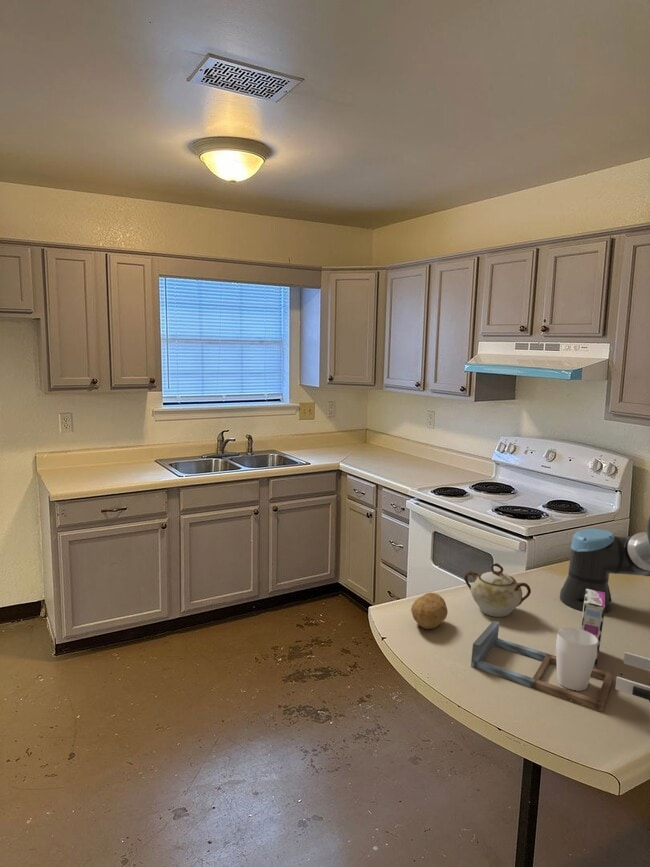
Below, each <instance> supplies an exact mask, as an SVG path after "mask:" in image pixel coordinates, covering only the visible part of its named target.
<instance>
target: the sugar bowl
mask: <svg viewBox="0 0 650 867" xmlns="http://www.w3.org/2000/svg"><path fill="white" fill-rule="evenodd" d="M494 567H497V568H498V569H499V570H495V569H494ZM490 569H491V570H490V571H488V572H483V573H480V574H479V573H477V572H474V571H467V572H466V573H465V575H464V582H465V585H467V586H468V588H469V590H470V593H471V596H472V598H473V600H474V602H475V603H476V605H477V607H478V608H479V610H480V611H481V613H483V614H484V615H487V616H489V617H490V616H491V617H496V618H504V617H508V616H509V615H510V614H511V613H512V612H513V611H514V610H515V609H516V608H517V607H519V606H520V605H522V603H523V602H524V601H525V600H527V599H528V598H529V597H530V595H531V593H532V590H531V586H530V585H529V584H528V583H526V582H518V581H517V580H516V579H515V578H514V577H513V576H511V575H509V574H506V573H504V568H503V566H501V564H500V563H497V562H495V563H493V564H491V566H490ZM469 576H472V577H473V579H472V580H473V581H472V583H471V584H470V582H469V580H468V577H469ZM522 587H524V588H526V589H527V590H526V591H527V592H526V594H525V595H524V596H523V590H522V589H523V588H522Z"/></svg>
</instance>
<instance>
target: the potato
mask: <svg viewBox="0 0 650 867" xmlns="http://www.w3.org/2000/svg"><path fill="white" fill-rule="evenodd" d="M410 611H411V614H412V618H413V620H414V621H415V622H416V624H417V625H418V626H419V627H421V628H423V629H425V630H429V629H430V630H431V629H435V628H437V627H438V626H439V625H440V624H442V623H443V622H444V621H445V619H447V615H448V612H449V611H448V607H447V604H446V601H445V599H444V598H443V597H442V596H441V595H440V594H438V593H436V592H426V593H425V594H423V595H421V596H420V597H418V598H417V599H415V600H414V602H413V604H411V608H410Z"/></svg>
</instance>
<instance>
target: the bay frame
mask: <svg viewBox="0 0 650 867" xmlns="http://www.w3.org/2000/svg"><path fill="white" fill-rule="evenodd" d="M499 630H500V621H496V620H492V621H491V623H490V624H489V625H488V626H487V627H486V628H485V630H484V631H483V632H482V633H481V634H480V635H479V636H478V637H477V639H475V641H474V642H473V643H472V650H471V651H472V652H471V660H470V667H471V668H475V669H477V670H480V671H483V672H486V673H489V674H491V675H494V676H497V677H500V678H504V679H507V680H510V681H512V682H514V683H518V684H521V685H523V686H526V687H529V688H532V689H534V690H538V691H541V692H544V693H547V694H550V695H552V694H553V695H552V696H555V695H556V696H555V697H558V696H559V698H561V697H562V699H564V698H566V699H565V700H567V699H568V700H567V701H570V700H572V701H574V702H573V703H575V702H577V703H576V704H578V703H579V704H578V705H581V704H583V705H582V706H584V705H585V707H587V706H588V707H587V708H590V707H591V708H590V709H593V708H594V710H596V709H597V710H596V711H598V710H600V711H599V712H601V711H602V713H603V712H604V710H605V707H604V706H606V704H607V701H606V700H608V698H609V694H610V691H611V688H612V686H613V683H614V680H615V679H614V678H615V674H614V673H612V672H608V671H605V670H601V669H599V668H593V669H592V672H591V676H590V677H592V678H596V679H599V680H602V681H603V682H602V685H601V687H600V690H599V692H598V695H597V698H593V697H590V696H587V695H585V694H581V693H578V692H577V691H574V690H570V689H568V688H565V687H562V686H561V687H560V686H558V685H554V684H552V683H549V682H546V681H542V678H543V676H544V675H545V673H546V671H547V669H548V668H549V666H550V664H552V665H555V666H557V662H556V655H553V654H549V653H547V652H543V651H541V650H537V649H534V648H531V647H529V646H524V645H520V644H518V643H515V642H511V641H508V640H505V639H503V638H500V637H499ZM495 647H498V648H501V649H505V650H508V651H510V652H513V653H517V654H521V655H524V656H527V657H531V658H532V659H536V660H539V661H541V664H540V665H539V667H538V669H537V670H536V671H535V674H534V675H533V676H532V677H531V676H528V675H526V674H522V673H520V672H516V671H513V670H510V669H508V668H505V667H502V666H498V665H495V664H493V663H489V662H486V661H484V660H485V659H486V658H487V657H488V656H489V655H490V653H491V652H492V650H494V648H495ZM572 701H571V702H572ZM605 703H606V704H605ZM603 709H604V710H603Z"/></svg>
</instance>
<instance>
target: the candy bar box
mask: <svg viewBox="0 0 650 867" xmlns="http://www.w3.org/2000/svg"><path fill="white" fill-rule="evenodd" d="M605 613H606V612H605V592H600V591H596V590H590V589H586V592H585V599H584V606H583V611H582V613H581V614H582V615H581V622H580V628H579V629H582V630H585V631H587V632H590V633H591V634H593V635H594V636H595V637H596V638H597V639H598V644H597V656H596V659H595V662H594V666H593V668H595V669H598V668H597V666H598V660H599V654H600V646H601V641H602V634H603V626H604V617H605Z"/></svg>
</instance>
